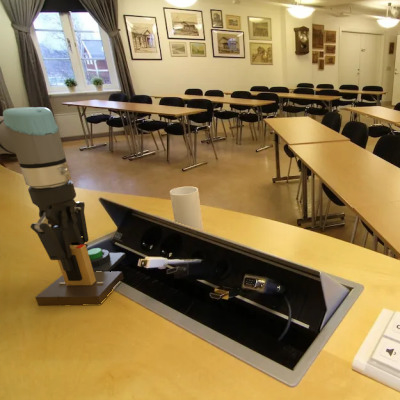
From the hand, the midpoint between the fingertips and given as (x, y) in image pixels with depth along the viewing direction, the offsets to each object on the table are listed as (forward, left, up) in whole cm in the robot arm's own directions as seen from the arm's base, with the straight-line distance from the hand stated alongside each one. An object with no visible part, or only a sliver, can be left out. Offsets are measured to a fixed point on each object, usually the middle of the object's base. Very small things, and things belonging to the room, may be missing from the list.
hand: (79, 276), depth 76 cm
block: (-4, +12, -4) cm, 13 cm away
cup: (+16, +29, -5) cm, 33 cm away
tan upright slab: (0, 0, -2) cm, 2 cm away
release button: (-4, +12, -2) cm, 13 cm away
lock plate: (0, 0, -4) cm, 4 cm away
